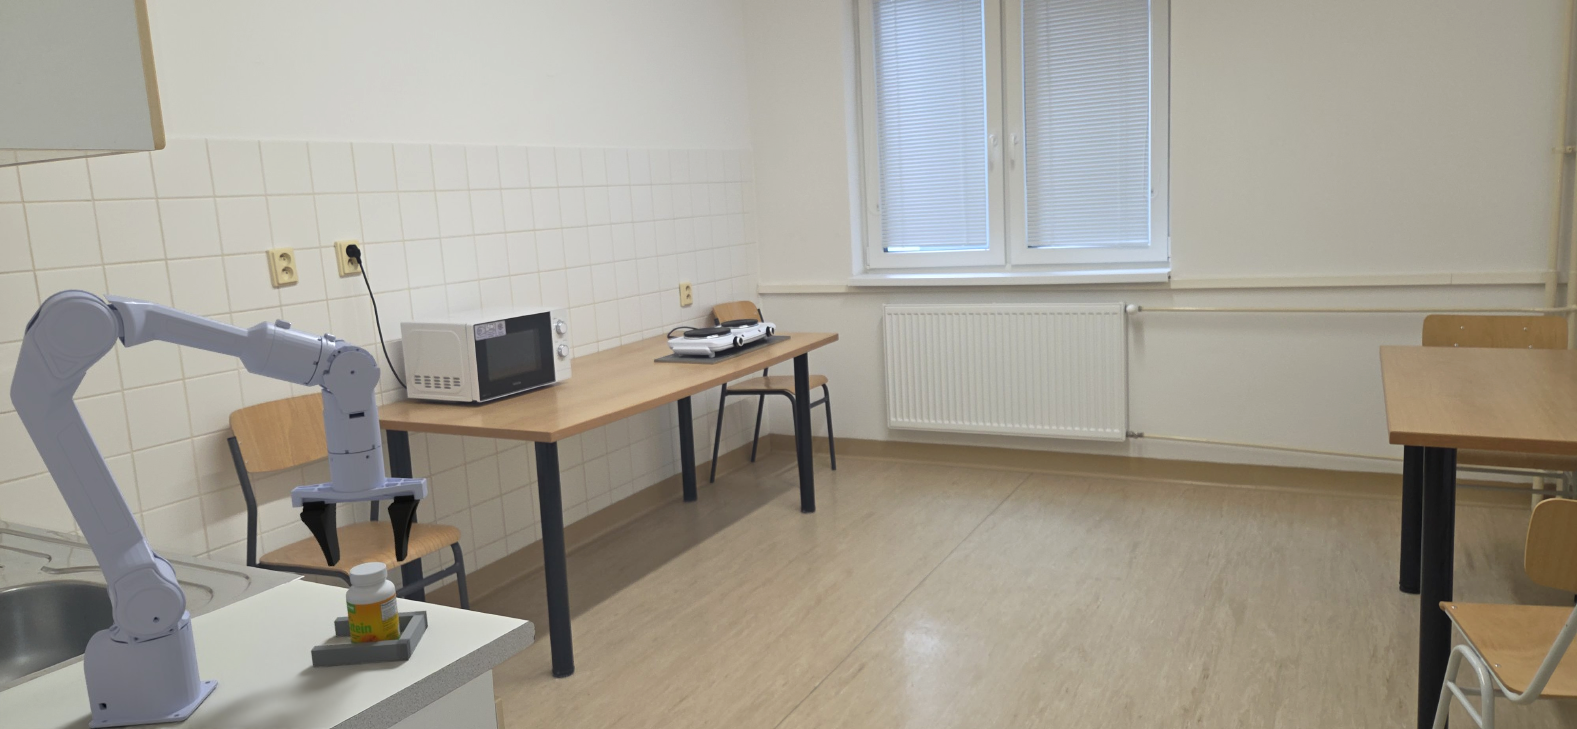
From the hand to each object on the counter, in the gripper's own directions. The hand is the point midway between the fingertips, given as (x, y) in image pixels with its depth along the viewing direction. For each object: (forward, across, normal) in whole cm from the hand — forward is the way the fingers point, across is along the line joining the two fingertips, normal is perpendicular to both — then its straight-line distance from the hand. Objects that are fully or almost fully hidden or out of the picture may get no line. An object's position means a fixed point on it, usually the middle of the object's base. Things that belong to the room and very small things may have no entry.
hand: (368, 560), depth 119 cm
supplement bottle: (+11, 0, 0) cm, 11 cm away
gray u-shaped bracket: (+10, 0, 0) cm, 10 cm away
